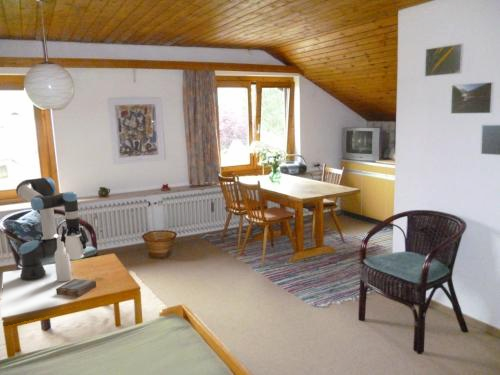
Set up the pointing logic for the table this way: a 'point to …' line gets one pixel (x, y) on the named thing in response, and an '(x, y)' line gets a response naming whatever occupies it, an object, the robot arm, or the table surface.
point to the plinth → (76, 287)
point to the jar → (74, 246)
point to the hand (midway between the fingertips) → (75, 253)
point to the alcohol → (62, 262)
